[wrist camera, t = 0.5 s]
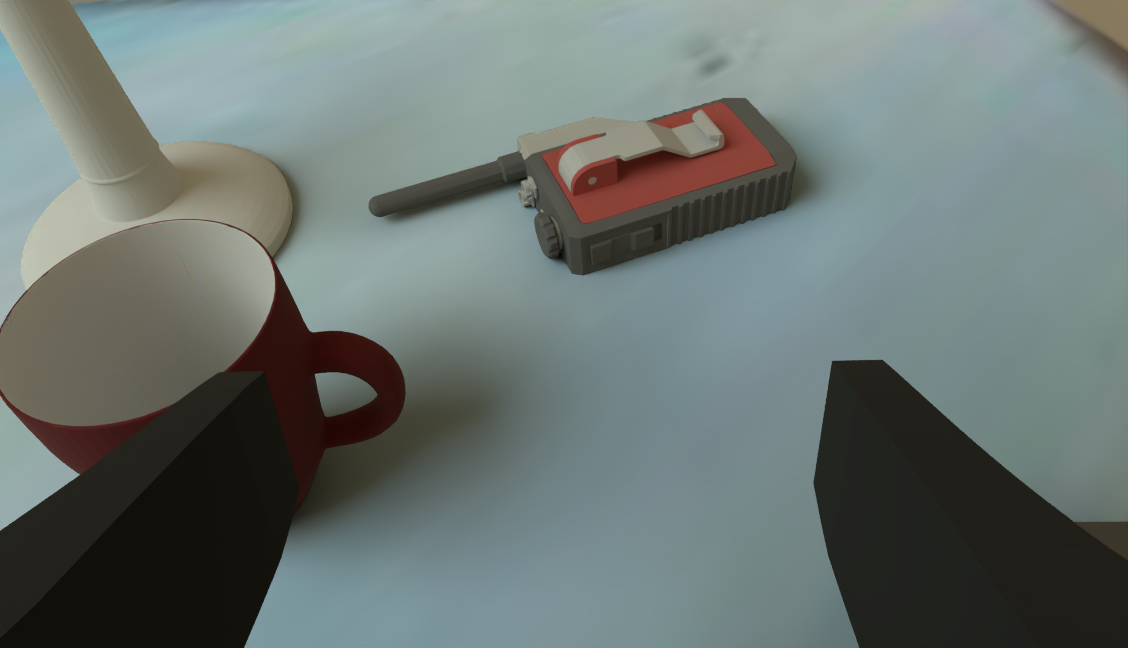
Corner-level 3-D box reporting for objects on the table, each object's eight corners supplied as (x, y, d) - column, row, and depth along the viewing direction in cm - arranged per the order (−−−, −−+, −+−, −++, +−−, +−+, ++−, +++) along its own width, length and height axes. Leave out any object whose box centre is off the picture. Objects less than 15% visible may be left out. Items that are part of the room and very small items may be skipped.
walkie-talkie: (730, 110, 46) (371, 216, 42) (737, 35, 42) (347, 144, 39) (819, 207, 40) (413, 340, 36) (835, 131, 37) (390, 268, 33)
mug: (411, 363, 35) (348, 175, 28) (447, 533, 30) (381, 358, 22) (152, 431, 34) (12, 252, 26) (142, 621, 29) (-37, 466, 21)
